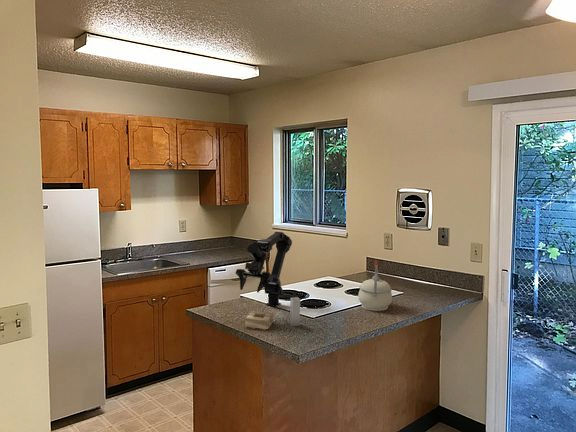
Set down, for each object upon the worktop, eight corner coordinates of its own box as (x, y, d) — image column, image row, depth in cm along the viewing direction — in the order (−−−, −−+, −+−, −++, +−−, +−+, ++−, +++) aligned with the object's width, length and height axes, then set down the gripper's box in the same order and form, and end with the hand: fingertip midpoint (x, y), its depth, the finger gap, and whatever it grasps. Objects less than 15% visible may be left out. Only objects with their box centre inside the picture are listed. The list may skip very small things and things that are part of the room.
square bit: (289, 323, 227) (290, 297, 226) (296, 323, 228) (297, 297, 227) (292, 326, 224) (293, 299, 222) (299, 325, 225) (300, 299, 223)
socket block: (251, 320, 231) (251, 311, 230) (272, 322, 229) (273, 313, 228) (245, 327, 220) (245, 318, 220) (267, 329, 218) (268, 320, 218)
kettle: (392, 314, 245) (394, 267, 242) (356, 311, 249) (358, 265, 246) (391, 301, 269) (393, 258, 267) (359, 298, 273) (360, 256, 270)
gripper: (236, 253, 235) (225, 281, 227) (269, 257, 227) (260, 286, 220) (244, 263, 243) (235, 291, 236) (277, 267, 236) (268, 296, 229)
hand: (249, 291), depth 230 cm, fingers open, 9 cm apart
